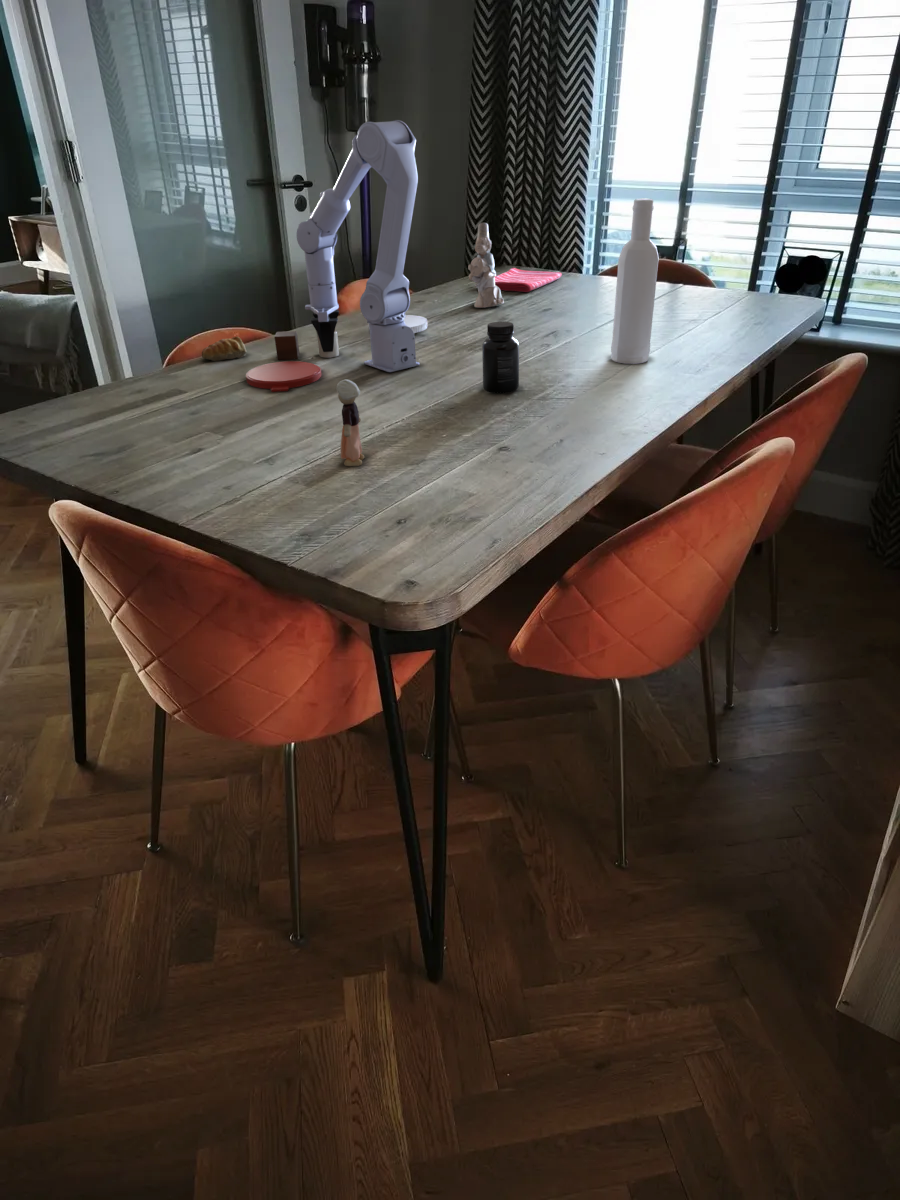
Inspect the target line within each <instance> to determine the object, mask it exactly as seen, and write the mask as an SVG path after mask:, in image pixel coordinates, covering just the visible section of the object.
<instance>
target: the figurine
mask: <svg viewBox="0 0 900 1200" xmlns="http://www.w3.org/2000/svg"><path fill="white" fill-rule="evenodd" d="M492 244H493V243H492V240H491V239H490V233H489V223H487V222H480V223H478V225H477V236H476V239H475V247H474V251H475V252H476V253H477V255H476V257H474V258H472V260H471V262H470V264H468V268H467V270H469V272H470V273H469V274H468V280H469V281H471V282H474V283H475V284H474V287H475V288H477V290H478V294H477V297H476V298H475V302H474V304H473V305H474V308H480V309H481V308H482V309H483V308H491V307H492V308H493V307H495V306H500V305H502V304H504V303H505V300H504V298H503V296H502V293H501V290H500V288H499V287H497V286H496V285H495V276H497V271H496V270H495V259H494V254H493V253H491V249H492Z"/></svg>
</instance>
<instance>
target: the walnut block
mask: <svg viewBox="0 0 900 1200" xmlns="http://www.w3.org/2000/svg"><path fill="white" fill-rule="evenodd" d="M274 344H275V351H276V358H277V361H293V360H299V358H300V347H299V339H298V331H297V330H288V331H287V330H286V331H276V332H275V334H274Z"/></svg>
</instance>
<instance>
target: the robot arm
mask: <svg viewBox="0 0 900 1200" xmlns="http://www.w3.org/2000/svg"><path fill="white" fill-rule="evenodd" d="M416 143H417V139H416V137H415V136H414V133H413V132H412V130H411V129H410V127H409V126H408V125H407V123H406V122H404V121H402V120H400V119H395V120H391V121H376V122H374V121H365V122H363V123H362V124H361V125H360V126H359V128H358V130H357V132H356V135H355V136H354V137H353V138H352V140H351V146H352V148H351V151H350V153H349V155H348V157H347V159H346V161H345V163H344V165H343V167H342V169H341V172H340V173H339V176H338V178H337V180H336V182H335V185H334V186H333V188H327V189H325V190H323V191H321V192H320V194H319V195H318V197H319V198H320V199H319V200H318V202H317V204H316V205H315V207H314V209H313V211H311V212H310V214H309V218H308V219H306V220H304V221H301V222H299V224H298V227H297V229H296V241H297V244H298V246H299V247H300V249H301V250H302V251H303V252H304V261H305V268H306V269H305V270H306V277H307V286H308V294H309V295H308V296H309V303H310V304H305V306H304V309H305V310H306V311H311V312H313V313H312V316H313V317H311V318H310V322H311V325H312V326H313V328H314V330H315V331H316V335H317V334H318V337H319V340H320V343H321V347H322V350H323V352H333V348H334V332H335V330H336V327H337V325H338V321H339V318H338V317H339V315H340V310H339V308H340V306H339V305H340V304H339V303H338V294H337V285H336V276H335V275H336V274H335V263H334V256H335V248H336V247H335V246H336V245H337V242H338V233H337V232H338V230H339V229H340V227H341V225H342V224H343V222H344V220H345V219H346V217H347V215H348V214H349V212H350V210H351V203H350V198H351V197H352V196H353V194H354V192H355V191H356V189H357V188H358V186H360V184H361V182H362V180H363V179H364V178H365V176H366V175H367V173H368V172H369V170H370V169H371V168H372V169H373V170H374V171H376V173H377V174H378V175H379V176H380V177H381V178H382V179H383V181H384V182H385V184H386V190H385V198H384V205H383V212H382V218H381V224H380V225H381V226H380V234H379V241H378V247H377V254H376V255H377V256H376V261H375V262H376V263H375V269H374V271H373V272H372V274H371V275H370V277H369V278H368V279H367V281H366V284H365V289H364V291H363V293H362V294H361V295H360V299H359V309H360V312H361V314H362V316H363V317H364V318H365V320H366V323H367V324H368V329H369V328H370V330H369V340H370V353H371V359H367V360H364V361H363V364H364V365H367V366H370V367H373V368H375V369H378V370H381V371H384V372H387V373H393V372H398V371H402V370H405V369H408V368H409V369H410V368H412V367H417V366H420V362H418V361H417V354H416V352H417V351H416V337H415V333H413V331H412V329H411V328H410V327H408V326H407V325H406V324H405V322H404V318H405V315H406V312H407V311H408V310H409V308H410V305H411V296H410V291H409V289H410V281H409V279H408V278H407V277H406V276H405V274H404V269H405V263H406V257H407V251H408V244H409V239H410V232H411V227H412V221H413V220H412V219H413V214H414V208H415V203H416V202H415V201H416V194H417V188H418V183H419V174H418V169H417V162H416V157H415V151H416Z"/></svg>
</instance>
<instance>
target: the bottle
mask: <svg viewBox="0 0 900 1200" xmlns="http://www.w3.org/2000/svg"><path fill="white" fill-rule="evenodd" d="M653 211H654V199H653V198H648V197H647V198H645V197H643V198H635V199H634V200H633V206H632V221H631V234H630V239H629V240H628V241H627V242H626V244H624V245H623V246H622V248H621V251H620V253H619V257H618V260H617V274H616V285H615V286H616V287H615V299H614V310H613V311H614V312H613V313H614V314H613V327H612V340H611V345H610V353H611V354H610V359H611V360H612V362H615V363H619V364H626V365H637V364H642V363H646V362H647V361H649V358H650V353H651V339H652V329H653V318H654V310H655V309H654V307H655V299H656V290H657V279H658V270H659V269H658V268H659V260H660V259H659V258H660V257H659V253H658V247H657V246H656V244H655V243H654V242H653V241H652V240H651V229H652V219H653Z"/></svg>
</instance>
